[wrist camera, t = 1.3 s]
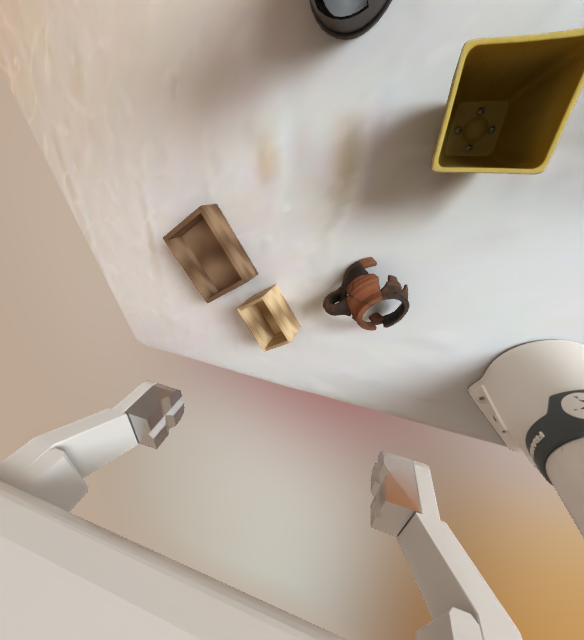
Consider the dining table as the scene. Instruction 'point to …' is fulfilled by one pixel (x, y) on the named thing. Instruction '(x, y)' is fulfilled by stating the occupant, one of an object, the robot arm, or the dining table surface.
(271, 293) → the small crate
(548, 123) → the flower pot
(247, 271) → the big crate
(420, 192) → the dining table surface
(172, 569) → the robot arm
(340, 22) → the french press
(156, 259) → the dining table surface
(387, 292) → the pottery mug
